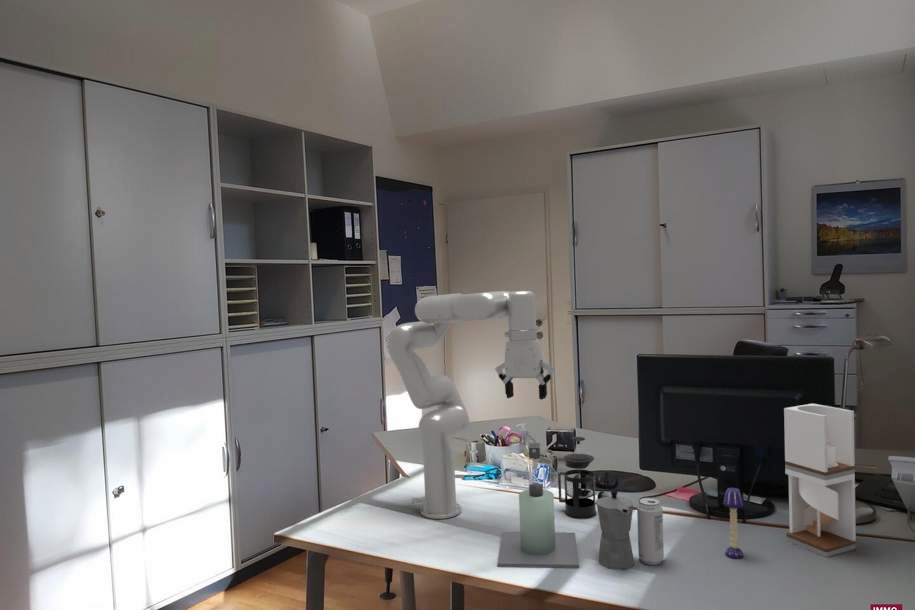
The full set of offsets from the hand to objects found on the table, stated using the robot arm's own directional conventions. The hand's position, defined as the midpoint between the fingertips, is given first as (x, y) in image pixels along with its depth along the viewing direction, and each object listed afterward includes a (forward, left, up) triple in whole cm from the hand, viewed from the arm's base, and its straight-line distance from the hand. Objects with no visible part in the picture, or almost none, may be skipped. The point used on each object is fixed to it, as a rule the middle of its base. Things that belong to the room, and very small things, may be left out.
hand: (526, 397), depth 180 cm
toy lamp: (+51, -11, -39) cm, 65 cm away
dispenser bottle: (+2, -10, -38) cm, 40 cm away
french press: (+14, +17, -39) cm, 45 cm away
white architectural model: (+74, -4, -39) cm, 84 cm away
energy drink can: (+30, -15, -39) cm, 51 cm away
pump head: (+2, -12, -17) cm, 20 cm away
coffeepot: (+21, -15, -39) cm, 46 cm away
